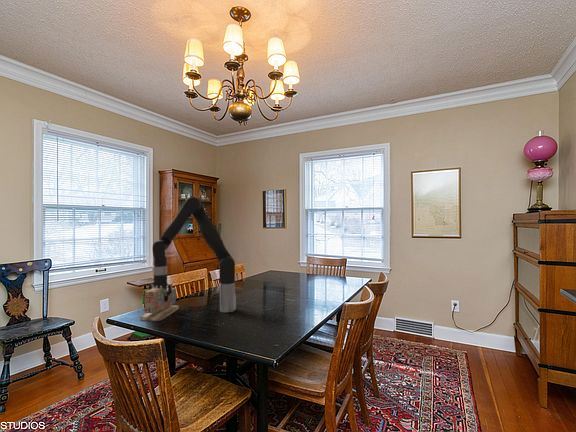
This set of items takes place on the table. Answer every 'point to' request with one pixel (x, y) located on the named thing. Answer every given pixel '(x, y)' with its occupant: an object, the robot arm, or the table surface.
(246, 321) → the table surface
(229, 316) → the table surface
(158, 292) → the stack of blocks
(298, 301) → the table surface
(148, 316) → the birch board
